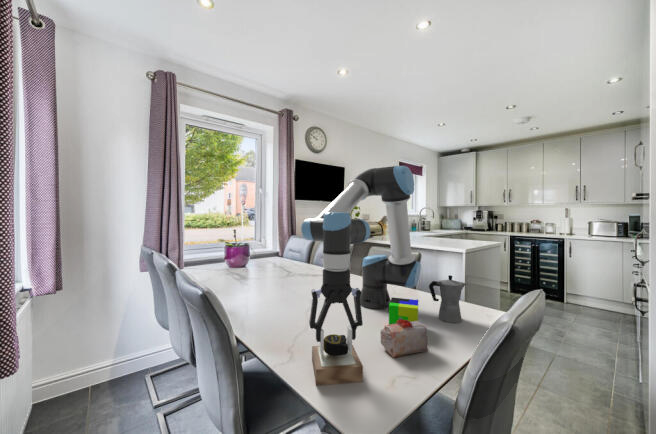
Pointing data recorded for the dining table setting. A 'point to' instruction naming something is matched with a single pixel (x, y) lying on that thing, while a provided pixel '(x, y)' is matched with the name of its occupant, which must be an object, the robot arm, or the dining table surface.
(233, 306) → the dining table surface
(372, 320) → the dining table surface
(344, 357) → the base block
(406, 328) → the food item
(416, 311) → the puzzle toy
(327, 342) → the tape measure
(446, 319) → the coffeepot
